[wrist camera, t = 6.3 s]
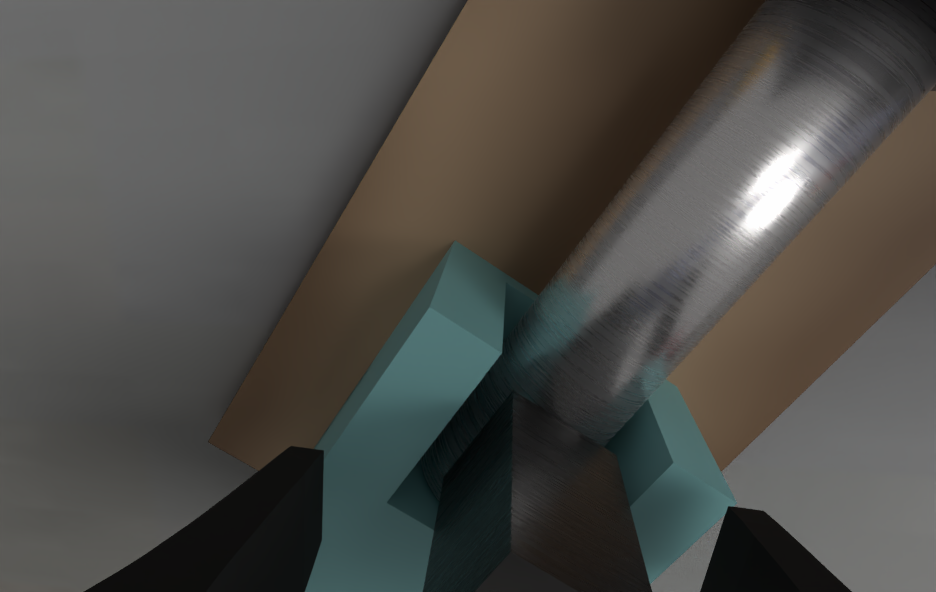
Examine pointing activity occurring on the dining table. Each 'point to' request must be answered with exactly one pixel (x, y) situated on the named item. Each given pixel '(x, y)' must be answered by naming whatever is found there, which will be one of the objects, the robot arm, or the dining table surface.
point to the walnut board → (579, 215)
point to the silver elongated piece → (662, 291)
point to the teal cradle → (435, 403)
